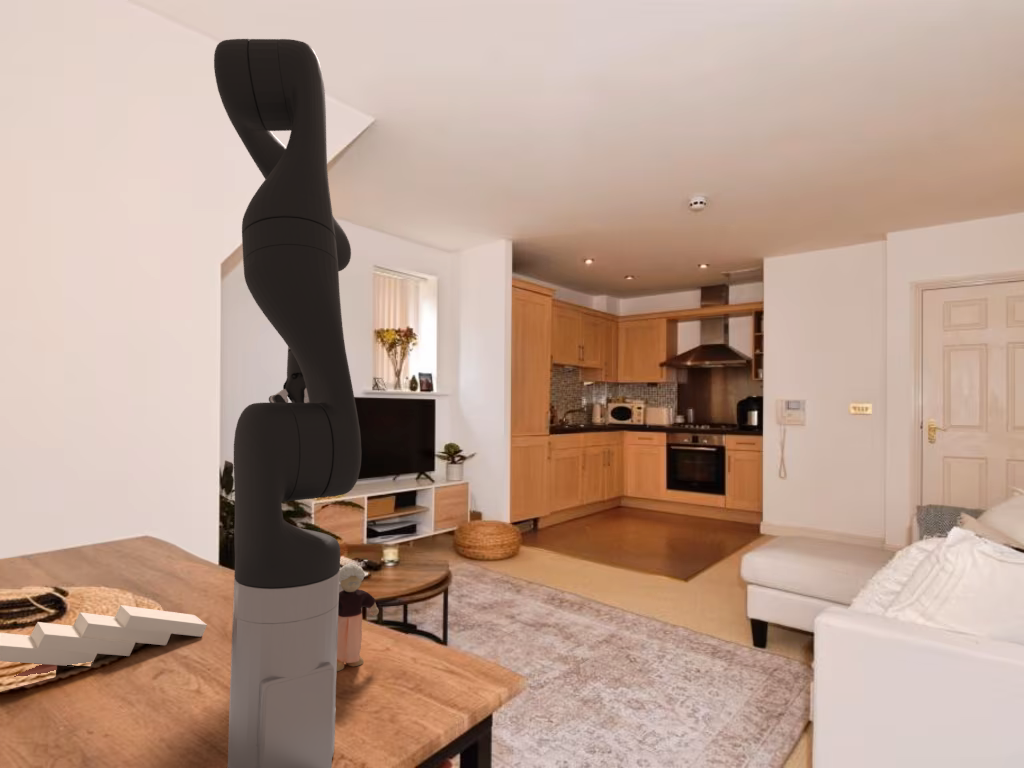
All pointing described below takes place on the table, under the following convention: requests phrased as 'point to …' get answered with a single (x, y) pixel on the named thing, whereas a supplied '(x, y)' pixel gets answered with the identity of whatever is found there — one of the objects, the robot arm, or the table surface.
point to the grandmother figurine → (351, 615)
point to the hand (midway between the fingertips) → (308, 455)
